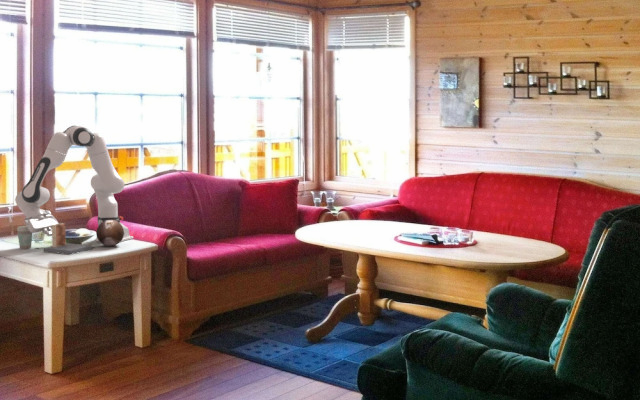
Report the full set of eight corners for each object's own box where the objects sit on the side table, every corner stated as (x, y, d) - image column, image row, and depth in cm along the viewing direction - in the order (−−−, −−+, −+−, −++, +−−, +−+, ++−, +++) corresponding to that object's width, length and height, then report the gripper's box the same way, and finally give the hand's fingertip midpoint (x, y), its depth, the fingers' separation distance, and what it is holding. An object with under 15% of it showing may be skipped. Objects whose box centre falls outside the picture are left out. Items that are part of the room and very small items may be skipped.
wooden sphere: (98, 249, 450) (97, 222, 448) (95, 244, 464) (94, 218, 462) (126, 247, 456) (125, 221, 454) (122, 243, 469) (121, 217, 468)
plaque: (62, 244, 451) (61, 223, 450) (66, 244, 450) (65, 223, 449) (52, 246, 444) (51, 225, 442) (56, 247, 443) (55, 225, 441)
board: (65, 246, 457) (65, 242, 456) (92, 249, 450) (92, 245, 450) (43, 251, 440) (43, 248, 440) (70, 254, 433) (70, 250, 433)
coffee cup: (19, 250, 444) (19, 228, 442) (15, 247, 451) (14, 226, 449) (35, 248, 449) (35, 227, 448) (31, 246, 456) (30, 225, 454)
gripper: (26, 215, 440) (40, 234, 438) (51, 210, 459) (66, 229, 456) (19, 222, 442) (34, 241, 440) (45, 218, 461) (60, 236, 459)
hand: (50, 235), depth 448 cm, fingers closed
